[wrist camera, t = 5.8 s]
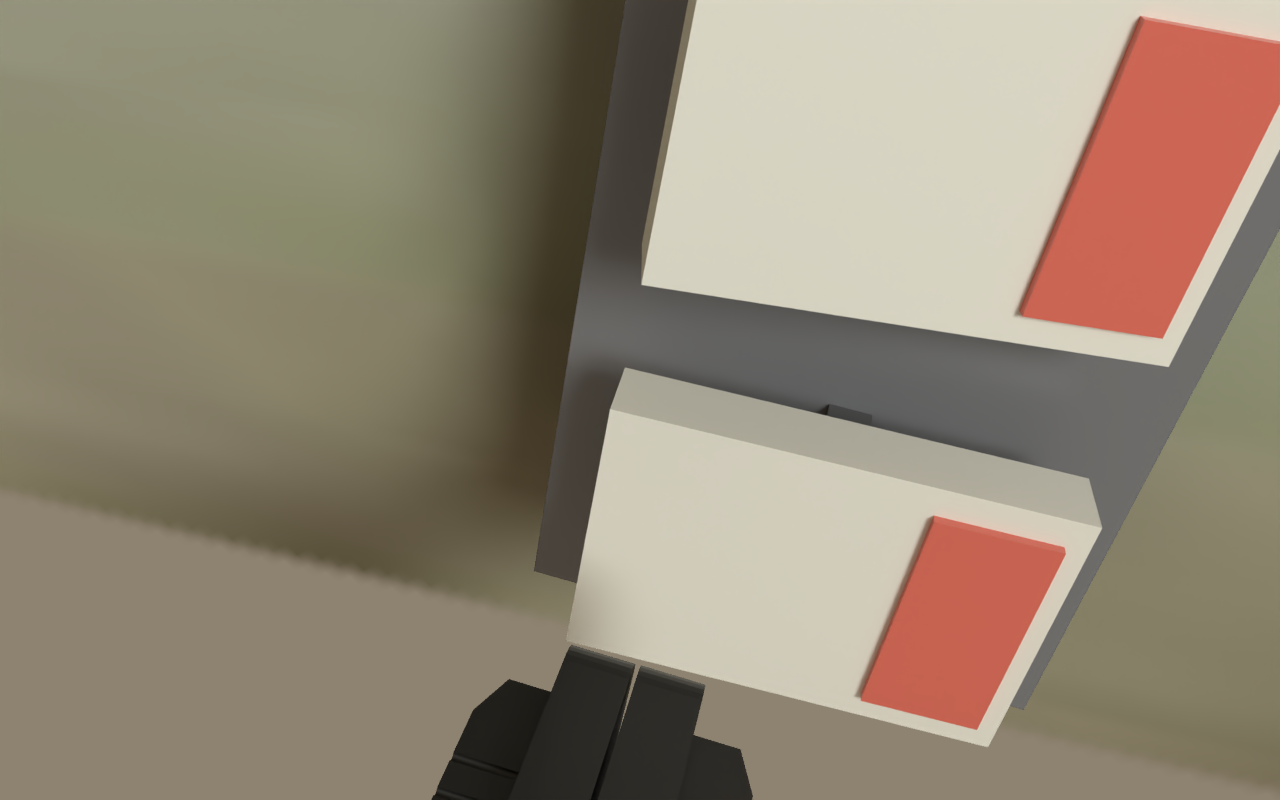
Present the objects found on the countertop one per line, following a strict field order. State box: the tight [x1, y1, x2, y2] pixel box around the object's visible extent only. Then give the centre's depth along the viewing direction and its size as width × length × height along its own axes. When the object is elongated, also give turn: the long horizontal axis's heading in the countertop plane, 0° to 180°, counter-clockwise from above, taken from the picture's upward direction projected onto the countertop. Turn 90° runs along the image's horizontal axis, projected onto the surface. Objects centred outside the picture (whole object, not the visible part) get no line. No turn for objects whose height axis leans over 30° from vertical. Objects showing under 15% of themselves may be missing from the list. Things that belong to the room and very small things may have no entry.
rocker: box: [566, 367, 1102, 747], centre depth 15 cm, size 6×4×1 cm, turn 80°
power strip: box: [534, 0, 1280, 710], centre depth 15 cm, size 8×18×5 cm, turn 170°
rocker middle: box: [641, 0, 1280, 367], centre depth 12 cm, size 6×4×1 cm, turn 80°
